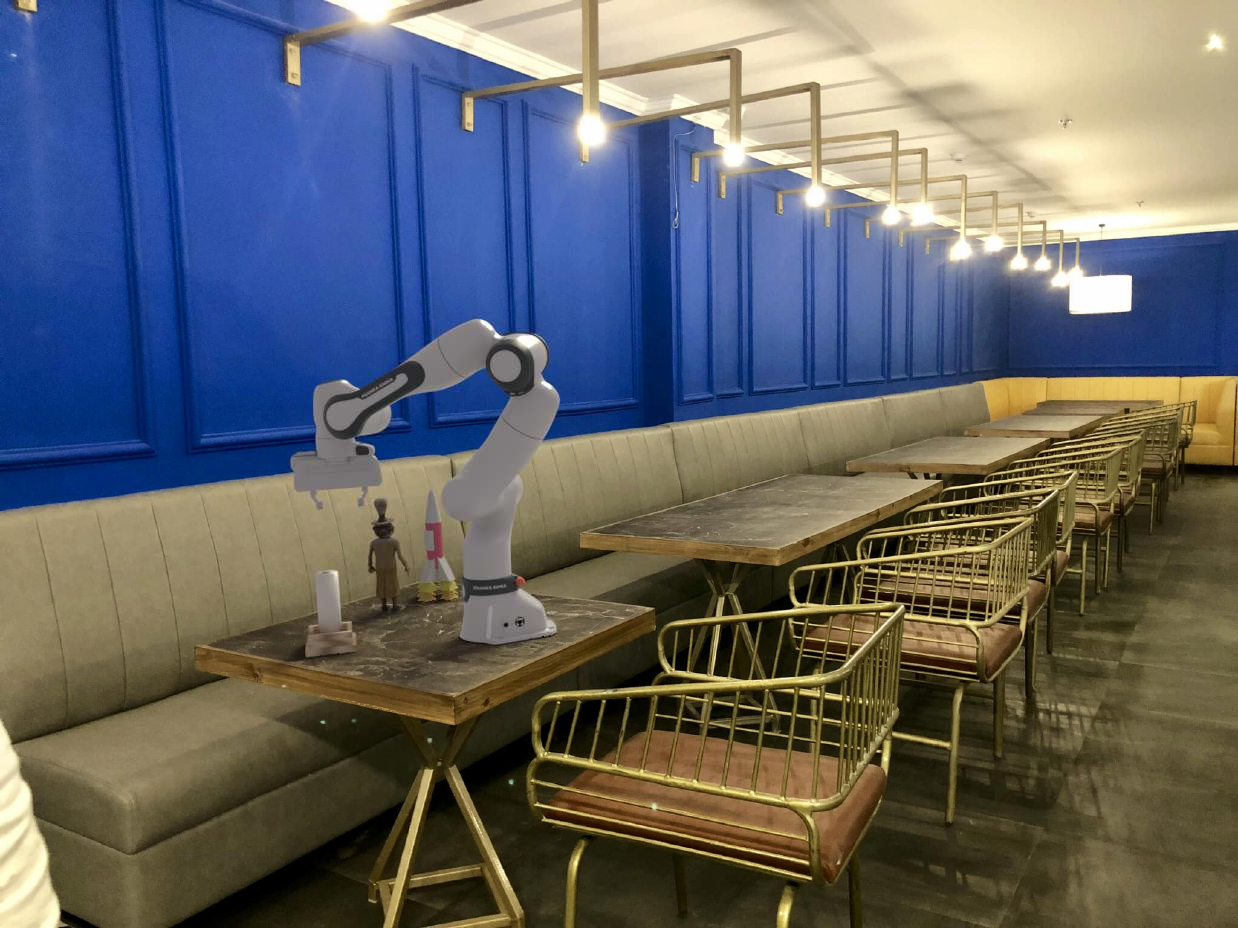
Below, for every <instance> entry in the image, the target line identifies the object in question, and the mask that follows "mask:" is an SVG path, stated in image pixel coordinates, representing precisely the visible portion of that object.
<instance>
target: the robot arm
mask: <svg viewBox="0 0 1238 928" xmlns="http://www.w3.org/2000/svg"><path fill="white" fill-rule="evenodd" d="M550 357H551V356H550V348H549V346H548V344H547V342H546V341H545V340H544V338H542V337H541V336H539V335H538V334H536V333H533V332H526V331H520V332H519V331H517V332H505V333H503V334H502V335H500V334H499V333H497V331H496V330H495V328H494V326H492V325H491V324H490V323H489V322H488V321H486V320H483V319H482V318H481V319H479V318H475V319H471V320H468V321H465V322H463V323H461V324H459V325H456V326H455V327H453V328H452V329H449V330H447V331H445V332H444V333H442V334H441V335H439V336H438V337H437V338H435V339H433V340H432V341H431V342H430V343H428V344H427V345H425V346H424V347H423V348H421V349H420V350H419V351H417V352H416V353H414V355H412V356H410V357H409V358H408V359H407V360H404V362H402V363H401V364H399V365H398V366H397V367H395V368H393V369H392V370H390V371H388V372H387V373H385V374H383V375H382V376H380V377H378V378H376V379H375V380H372V381H371V382H370V383H368V384H366V385H365V386H363V387H361V388H359V387H356V386H354V385H353V384H351V383H350V382H349V381H348V380H346V379H335V380H334V379H333V380H328V381H324V382H321V383H319V384H318V385H316V386H315V389H314V391H313V397H312V398H313V399H312V400H313V402H312V403H313V404H312V407H313V408H312V409H313V411H312V412H313V421H314V424H315V427H316V433H315V446H316V447H315V449H316V450H310V451H299V452H296V453H295V454H293V455H291V458H290V460H289V461H290V462H289V463H290V469H291V470H292V471H293V489H294V491H296V492H297V493H303V492H304V493H305V492H310V498H311V499H312V500H313V502H314V503H315V508H316V511H319V510H324V507H323V505H324V504H323V501H321V500H320V501H319V499H318V498H317V497H316V496H317V494H318V491H328V490H330V491H331V490H339V489H340V490H342V489H354V488H361V492H363V493H362V495H361V497H360V498H359V497H358V498H357V507H364V506H365V499H366V496H367V494H368V492H369V487H379V486H382V485H381V484H383V475H382V474H383V473H382V469H381V465H380V462H379V460H378V458H377V457H376V455H375V452H376V449H375V446H374V445H372V444H369V443H364V442H362V441H356V439H355V437H361V436H367V435H373V434H377V433H378V434H379V433H380V432H383V431H384V430H386V429H387V428H388V427H389V425H390V423H391V420H392V415H393V414H392V407H391V406H392V405H393V404H395V403H396V402H398V401H399V400H402V399H404V398H407V397H410V396H412V395H418V394H422V393H429V392H437V391H443V390H445V389H448V388H451V387H454V386H455V385H458V384H459V383H461V382H463V381H465V380H467V379H468V378H469V377H471V376H472V375H474V374H475V373H477V372H479V371H481V370H483V369H485V370H486V373H487V376H488V377H489V379H490V380H491V381H492V382H493V383H495V385H496V386H498V387H499V388H500V389H501V390H502V392H503V393H504V394H505V395H506V396H508V397H509V400H508V402H507V404H506V406H505V407H504V408H503V410H502V412H501V414H500V416H499V417H498V419H497V421H496V422H495V424H494V425H493V428H492V429H491V431H490V432H489V434H488V437H486V439H485V440H484V442H483V443H482V444H481V446H480V447H479V448H478V449H477V451H476V452H475V453H474V454H473V455H472V456H471V457H470V459H469V460H468V461H467V462H466V463H465V464H464V465H463V467H462V468H461V470H460V471H458V473H457V474H456V475H455V476H453V478H451V479H450V480H448V481H447V482H446V484H445V485H444V486H443V488H442V491H441V494H440V495H441V496H440V502H441V507H442V508H443V511H444V512H445V513H446V514H447V516H449V517H450V518H451V519H454V520H456V521H460V522H461V521H462V522H470V524H469V528H468V530H467V534H466V535H465V537H464V539H463V541H462V547H461V548H462V550H461V551H462V563H463V564H462V567H463V568H462V569H463V576H462V577H461V578H462V582H461V592H462V593H461V594H462V600H463V602H464V603H463V605H464V606H463V618H462V623H461V624H462V625H461V629H460V630H461V631H460V633H459V634H460V635H459V637H460V638H461V639H462V640H464V641H467V642H473V643H485V644H488V645H504V644H509V643H514V642H520V641H526V640H530V639H531V638H532V639H537V638H542V636H544V637H549V635H550V636H553V634H554V633H555V634H557V629H558V628H557V625H556V623H555V622H554V621H553V620H551V619H548V618H547V613H546V611H545V607H544V605H543V604H542V602H541V601H540V600H539V599H537V598H535V597H534V596H533V595H531V594H529V593H528V592H527V591H525V590H524V589H522V588H521V587H524V585H526V581H525V578H523V577H522V576H520V575H518V574H516V573H514V572H512V561H511V560H512V558H511V557H512V556H511V555H512V553H511V550H512V549H511V538H512V531H513V524H514V520H515V516H516V515H515V514H516V510H517V506H518V504H519V501H520V500H521V498H522V496H523V494H524V483H523V481H522V478H521V477H520V473H521V472H522V471H524V469H526V468H527V467H528V466H529V464H530V463H531V461H532V459H533V457H534V456H535V454H536V453H537V451H538V449H539V448H540V446H541V444H542V443H543V441H544V439H545V437H546V435H547V434H548V432H549V430H550V428H551V426H552V424H553V422H554V419H555V417H556V414H557V412H558V409H559V407H560V402H561V398H560V394H559V393H558V391H557V390H556V388H555V387H554V386H553V385H552V384H550V383H548V382H547V381H546V380H545V379H544V377H543V373H544V372H545V371H546V369H547V367H548V365H549V362H550ZM555 634H554V635H555ZM532 639H531V640H532Z"/></svg>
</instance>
